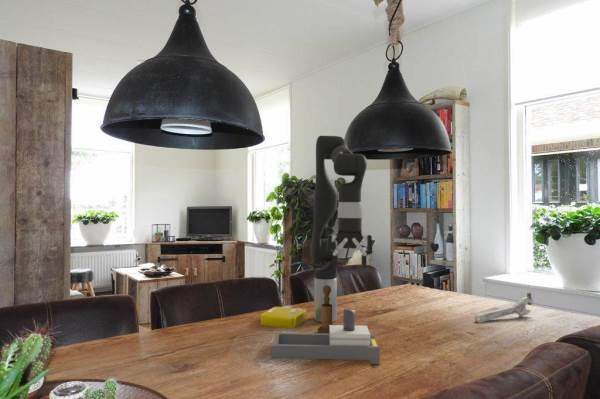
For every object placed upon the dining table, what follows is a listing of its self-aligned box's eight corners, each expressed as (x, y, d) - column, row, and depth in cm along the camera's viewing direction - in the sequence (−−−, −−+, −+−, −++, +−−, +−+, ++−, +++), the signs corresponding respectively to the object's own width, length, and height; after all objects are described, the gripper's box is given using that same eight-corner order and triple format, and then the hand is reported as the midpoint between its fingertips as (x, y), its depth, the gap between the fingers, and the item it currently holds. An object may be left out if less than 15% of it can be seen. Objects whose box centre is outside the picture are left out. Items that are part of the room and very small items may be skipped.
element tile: (274, 316, 177) (274, 305, 177) (307, 319, 172) (307, 308, 172) (258, 325, 163) (258, 313, 163) (294, 329, 158) (294, 317, 158)
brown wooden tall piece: (320, 339, 145) (321, 287, 146) (315, 333, 152) (315, 284, 152) (338, 337, 147) (338, 287, 147) (332, 332, 153) (332, 283, 154)
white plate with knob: (329, 346, 134) (329, 306, 134) (366, 347, 134) (367, 306, 134) (329, 357, 125) (330, 313, 125) (370, 357, 124) (370, 314, 125)
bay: (276, 348, 136) (276, 332, 136) (373, 349, 135) (373, 334, 135) (271, 362, 124) (272, 345, 124) (379, 364, 123) (379, 347, 123)
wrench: (475, 328, 169) (530, 314, 179) (478, 329, 167) (534, 315, 177) (473, 309, 169) (529, 295, 179) (476, 310, 167) (532, 296, 177)
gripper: (370, 216, 135) (370, 265, 135) (327, 215, 136) (326, 265, 136) (373, 217, 128) (373, 269, 128) (327, 216, 128) (327, 269, 128)
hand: (349, 267), depth 132 cm, fingers open, 8 cm apart
